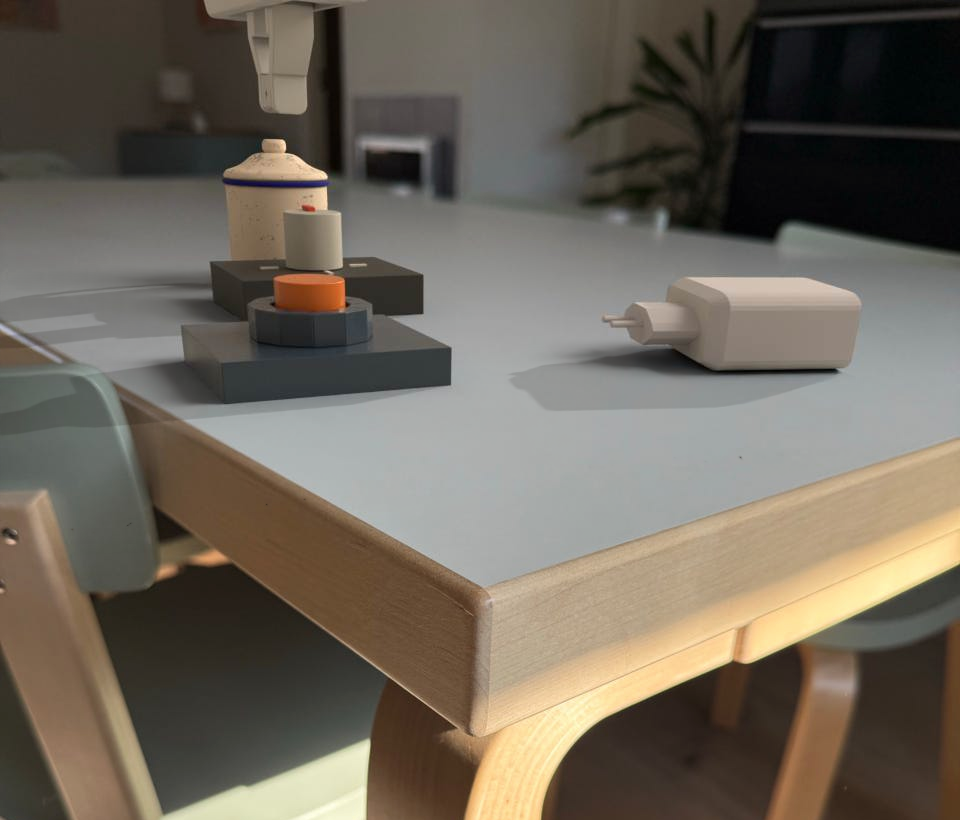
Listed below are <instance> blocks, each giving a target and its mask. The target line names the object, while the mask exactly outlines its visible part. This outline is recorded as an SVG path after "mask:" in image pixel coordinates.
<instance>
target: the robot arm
mask: <svg viewBox="0 0 960 820" xmlns="http://www.w3.org/2000/svg"><path fill="white" fill-rule="evenodd" d="M368 1H369V0H203V3H204V7H205V9H206V12H207V14H208V16H209V17H210V18H212V19H217V20H226V21H227V20H228V21H237V22H246V23H247V24H246V25H247V26H246V27H247V39H248V44H249V47H250V51H251V55H252V59H253V62H254V66H255V71H256V74H257V82H258V83H257V84H258V85H257V86H258V102H259V105H260V108H261V109H262V111H263V112H265V113H269V114H279V115H282V114H283V115H303V114H304V113H305V112H306V111H307V108H308V94H307V93H308V92H307V91H308V90H307V88H308V87H307V86H308V85H307V76H308V72H309V66H310V61H311V55H312V51H313V43H314V40H315V32H314V31H315V30H314V29H315V28H314V27H315V23H314V13H315V12H319V11H325V10H330V9H335V8H340V7H344V6H349V5H355V4H360V3H366V2H368Z"/></svg>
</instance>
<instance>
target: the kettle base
mask: <svg viewBox="0 0 960 820" xmlns="http://www.w3.org/2000/svg"><path fill="white" fill-rule="evenodd" d="M342 258H343V267H342V268H340V269H336V270H326V271H307V270H296V269H290V268H288V267H286V259H277V260H241V261H232V260H211V261H209V268H210V278H211V279H210V280H211V288H212V290H211V291H212V299H213V301H214V302H216V304H219V305H220V306H221V307H222V308H224V309H225V310H227V311H228V312H229V313H231V314H232V315H234V316H235V317H236V318H237V319H239V320H241V322H246V321H248V309H247V304H248V303H250V302H252V301H254V300H255V299H258V298H264V297H270V296H274V281H273V280H274V278H275V277H278V276H282V275H290V274H324V275H333V276H338V277H342V278H344V280H345V296H347V297H353V298H360V299H363V300H365V301H367V302H369V303H371V304H372V315H381V314H383V315H385V316H387V317H397V316H414V315H416V316H417V315H424V309H425V307H424V306H425V305H424V300H425V299H424V295H425V294H424V292H425V291H424V290H425V289H424V287H425V286H424V285H425V284H424V283H425V282H424V281H425V280H424V277H425V275H424V274H423V273H421V272H418V271H415V270H412V269H409V268H406V267H404V266H401V265H398V264H395V263H392V262H389V261H387V260H384V259H381V258H378V257H376V256H357V257H355V256H354V257H353V256H352V257H342Z"/></svg>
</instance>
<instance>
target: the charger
mask: <svg viewBox="0 0 960 820" xmlns="http://www.w3.org/2000/svg"><path fill="white" fill-rule="evenodd" d="M665 298H666V299H665V301H651V302H650V301H649V302H648V301H643V302H642V301H638V302H636V301H634V302H632V303H631V304H630V305H629V306H628V307H627V308H626V309H625V311H624V314H623V315H602V317H601V322H602V323H609V327H610V328H614V329H615V328H619V329H620V328H626V330H627V333H628V335H629V338H630V339H631V340H633V341H635V342H636V343H638V344H639V345H641V346H666V345H667V346H669V347H671V348H672V349H674V350H676V351H678V352H679V353H680V354H683V355H685V356H687V357H688V358H690V359H692V360H693V361H695V362H696V363H698V364H700V365H702V366H703V367H706V368H708V369H709V370H711V371H715V372H716V371H771V370H827V369H828V370H829V369H830V370H834V369H835V370H837V369H838V370H839V369H846V368H848V367H849V366H850V364H851V362H852V360H853V356H854V350H855V345H856V342H857V341H856V340H857V335H858V330H859V325H860V320H861V316H862V311H863V310H862V309H863V305H862V301H861V299H860V298H859V296H858V295H857V294H856V293H855V292H853V291H850V290H848V289H844V288H841V287H837V286H835V285H832V284H827V283H824V282H821V281H818V280H814V279H812V278H808V277H779V276H778V277H776V276H775V277H773V276H772V277H771V276H770V277H767V276H766V277H764V276H763V277H762V276H760V277H757V276H756V277H755V276H754V277H747V276H745V277H742V276H741V277H740V276H739V277H737V276H736V277H735V276H734V277H732V276H731V277H730V276H729V277H728V276H727V277H721V276H719V277H718V276H717V277H715V276H714V277H711V276H709V277H708V276H707V277H706V276H703V277H702V276H701V277H699V276H696V277H695V276H694V277H693V276H688V277H687V276H684V277H683V276H682V277H680V278H679V279H677V280H676V281H674V282H673V283H671V284H670V285H668V287H667V290H666V297H665Z"/></svg>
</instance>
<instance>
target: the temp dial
mask: <svg viewBox="0 0 960 820" xmlns="http://www.w3.org/2000/svg"><path fill="white" fill-rule="evenodd" d="M283 223H284V240H285V256H286V267H288V268H290V269H296V270H307V271H326V270H336V269H340V268H342V267H343V258H344V257H343V233H342V231H343V229H342V212H340V211H338V210H332V209H328V210H318V209H315V207H312V206H310V205H302V209H295V210H285V211H283Z"/></svg>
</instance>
